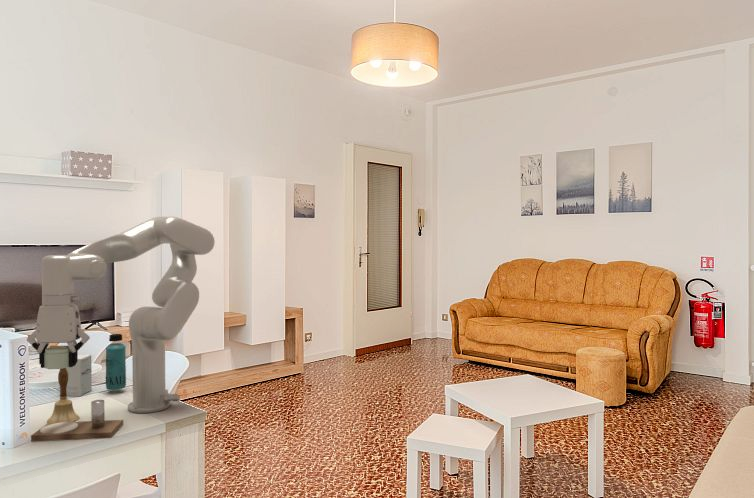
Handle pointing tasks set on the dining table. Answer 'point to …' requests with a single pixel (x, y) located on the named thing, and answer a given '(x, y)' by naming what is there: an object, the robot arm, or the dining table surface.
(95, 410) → the post
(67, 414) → the hand bell
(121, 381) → the beverage bottle
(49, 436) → the board
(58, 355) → the cap
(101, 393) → the dining table surface
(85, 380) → the supplement box
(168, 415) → the dining table surface
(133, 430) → the dining table surface
